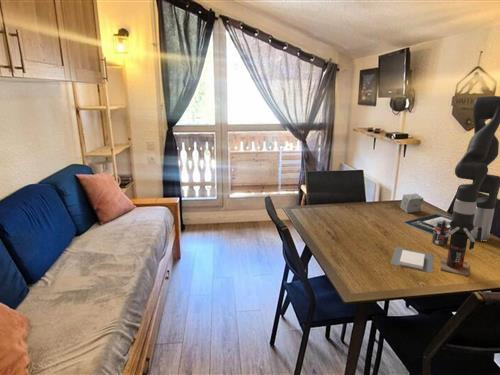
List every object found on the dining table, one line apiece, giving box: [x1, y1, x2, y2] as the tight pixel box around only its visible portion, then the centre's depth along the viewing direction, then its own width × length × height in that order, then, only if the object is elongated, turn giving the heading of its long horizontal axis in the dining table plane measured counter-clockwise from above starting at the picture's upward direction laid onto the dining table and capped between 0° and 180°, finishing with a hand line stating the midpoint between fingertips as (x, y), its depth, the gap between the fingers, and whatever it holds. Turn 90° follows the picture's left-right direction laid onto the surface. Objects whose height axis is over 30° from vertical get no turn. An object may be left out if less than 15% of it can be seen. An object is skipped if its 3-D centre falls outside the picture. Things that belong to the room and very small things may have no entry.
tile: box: [399, 250, 425, 269], centre depth 145 cm, size 2×9×12 cm
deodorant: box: [446, 232, 469, 269], centre depth 138 cm, size 6×6×15 cm
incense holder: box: [400, 193, 424, 214], centre depth 206 cm, size 10×8×10 cm
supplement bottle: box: [431, 221, 448, 247], centre depth 161 cm, size 6×6×11 cm
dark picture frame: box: [402, 212, 452, 236], centre depth 185 cm, size 22×30×2 cm
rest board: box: [440, 256, 470, 278], centre depth 140 cm, size 12×10×1 cm
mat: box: [390, 247, 434, 274], centre depth 147 cm, size 18×16×1 cm
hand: (457, 246), depth 137 cm, fingers open, 8 cm apart
